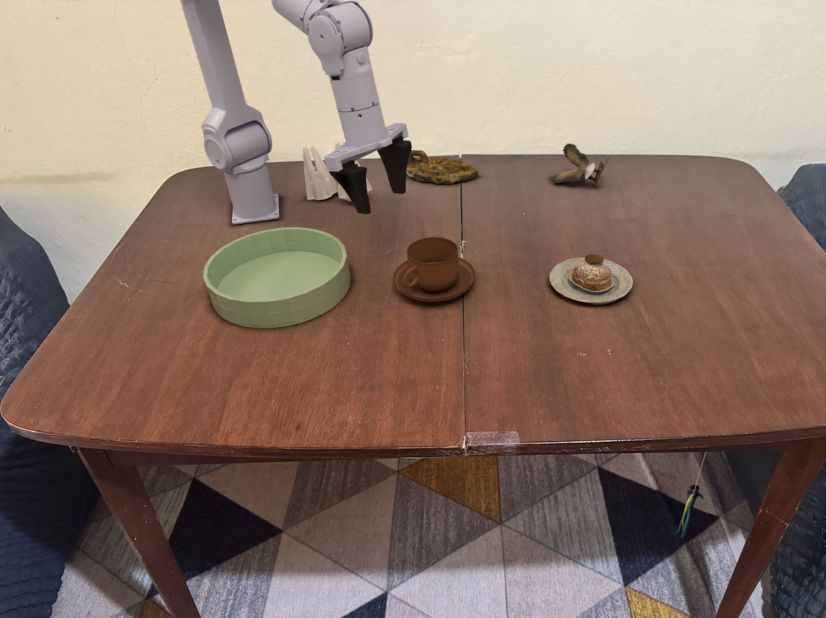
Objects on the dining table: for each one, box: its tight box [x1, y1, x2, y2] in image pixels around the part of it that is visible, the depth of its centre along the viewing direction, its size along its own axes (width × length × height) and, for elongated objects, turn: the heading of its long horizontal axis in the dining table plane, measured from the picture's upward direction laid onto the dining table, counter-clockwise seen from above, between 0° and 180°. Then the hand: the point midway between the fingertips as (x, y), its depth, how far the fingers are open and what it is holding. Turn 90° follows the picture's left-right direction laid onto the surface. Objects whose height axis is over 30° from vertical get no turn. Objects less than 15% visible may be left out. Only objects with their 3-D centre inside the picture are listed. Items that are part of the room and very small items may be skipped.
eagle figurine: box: [551, 143, 610, 188], centre depth 118 cm, size 8×7×9 cm
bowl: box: [202, 226, 352, 329], centre depth 94 cm, size 20×20×4 cm
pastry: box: [548, 253, 634, 306], centre depth 92 cm, size 12×12×5 cm
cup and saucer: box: [392, 236, 476, 303], centre depth 93 cm, size 12×12×6 cm
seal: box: [406, 149, 479, 185], centre depth 124 cm, size 9×5×15 cm
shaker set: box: [302, 140, 373, 203], centre depth 114 cm, size 12×4×11 cm, turn 73°
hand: (382, 202), depth 93 cm, fingers open, 7 cm apart
